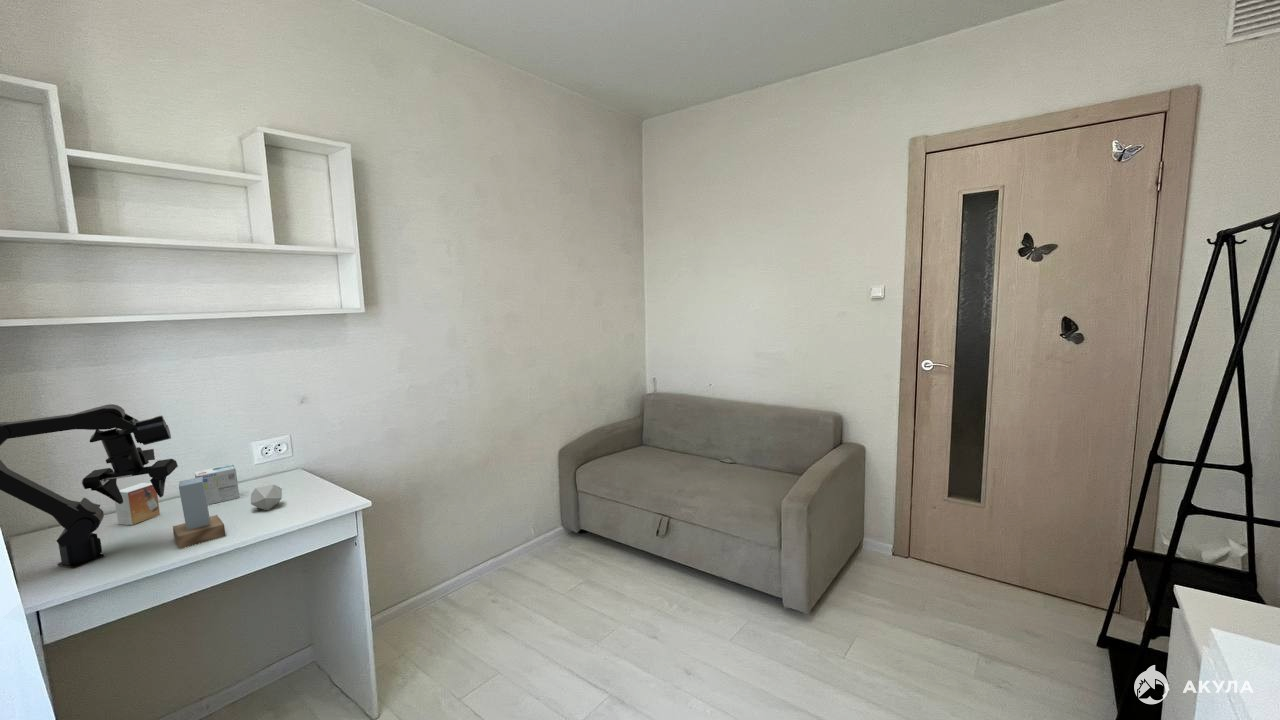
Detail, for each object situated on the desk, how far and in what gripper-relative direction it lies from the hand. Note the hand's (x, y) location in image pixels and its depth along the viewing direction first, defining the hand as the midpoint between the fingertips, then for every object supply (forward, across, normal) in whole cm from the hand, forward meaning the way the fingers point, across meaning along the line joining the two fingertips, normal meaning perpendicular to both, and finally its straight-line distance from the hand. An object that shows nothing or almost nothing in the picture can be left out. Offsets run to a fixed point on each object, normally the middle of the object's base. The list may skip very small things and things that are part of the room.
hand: (141, 499), depth 145 cm
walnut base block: (+13, -12, +4) cm, 18 cm away
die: (+17, -22, -14) cm, 32 cm away
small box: (+16, +13, -17) cm, 26 cm away
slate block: (+9, -12, +3) cm, 15 cm away
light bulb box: (+19, -4, -27) cm, 33 cm away
